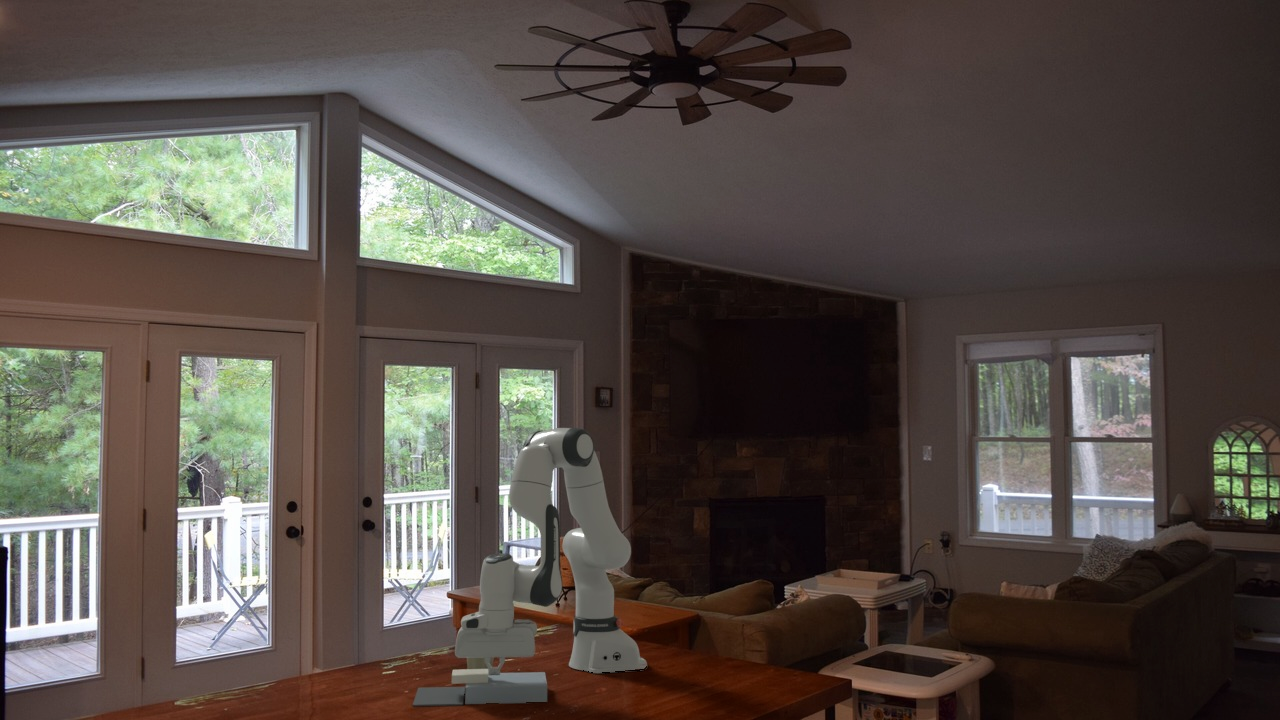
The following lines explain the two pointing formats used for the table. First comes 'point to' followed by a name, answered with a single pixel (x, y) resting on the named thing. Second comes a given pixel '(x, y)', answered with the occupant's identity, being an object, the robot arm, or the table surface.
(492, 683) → the plate
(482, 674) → the cream flat block
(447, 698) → the mat
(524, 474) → the robot arm
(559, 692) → the table surface
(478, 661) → the flower pot
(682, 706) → the table surface
